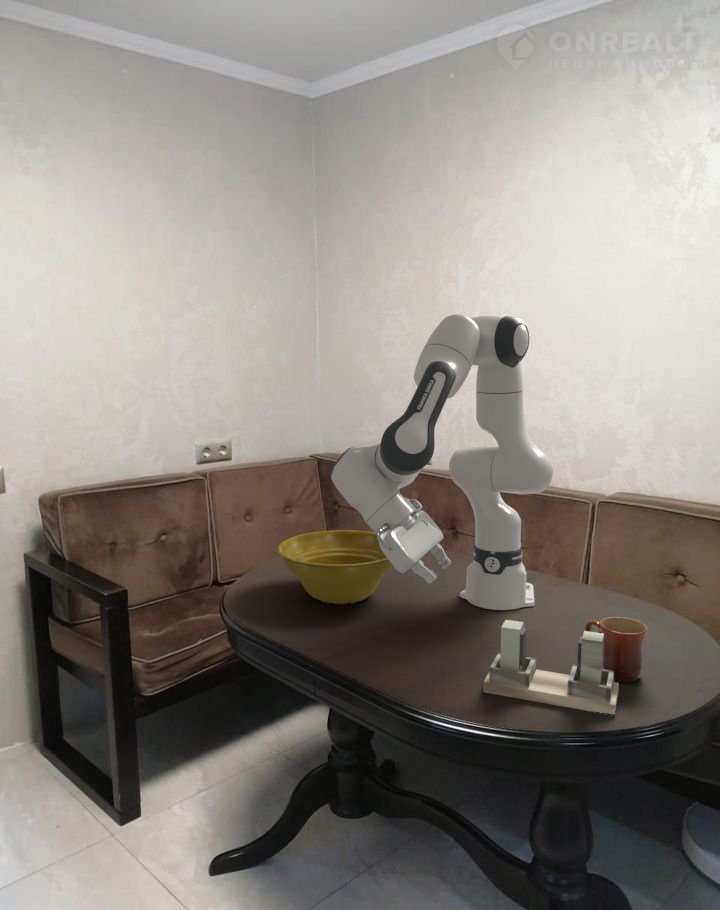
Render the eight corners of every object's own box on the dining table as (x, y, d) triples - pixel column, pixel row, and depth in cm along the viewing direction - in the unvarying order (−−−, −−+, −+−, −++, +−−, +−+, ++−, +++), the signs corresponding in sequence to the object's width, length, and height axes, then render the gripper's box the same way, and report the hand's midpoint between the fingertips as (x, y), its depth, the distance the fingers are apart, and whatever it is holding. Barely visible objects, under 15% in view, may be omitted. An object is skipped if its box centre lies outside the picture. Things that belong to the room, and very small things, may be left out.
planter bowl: (371, 627, 165) (371, 570, 164) (253, 606, 179) (252, 553, 177) (421, 586, 194) (422, 537, 192) (316, 570, 208) (316, 525, 206)
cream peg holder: (494, 672, 142) (495, 613, 140) (618, 693, 133) (621, 630, 131) (483, 692, 134) (484, 630, 132) (614, 715, 125) (618, 649, 123)
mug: (653, 675, 140) (655, 625, 139) (632, 690, 134) (635, 637, 132) (595, 657, 148) (597, 609, 147) (573, 670, 142) (575, 620, 141)
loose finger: (504, 669, 138) (505, 619, 137) (525, 673, 137) (527, 622, 135) (500, 678, 135) (501, 627, 133) (521, 682, 133) (523, 630, 132)
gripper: (384, 521, 130) (436, 579, 128) (420, 498, 149) (466, 549, 147) (361, 542, 133) (412, 600, 130) (399, 517, 151) (444, 567, 149)
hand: (441, 573), depth 139 cm, fingers open, 8 cm apart
